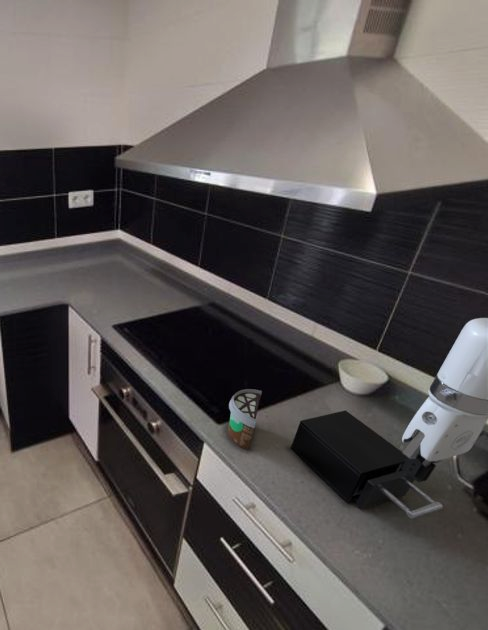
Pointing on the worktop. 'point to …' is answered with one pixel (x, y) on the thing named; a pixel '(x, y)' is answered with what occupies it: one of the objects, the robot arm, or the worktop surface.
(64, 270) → the worktop surface
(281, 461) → the worktop surface
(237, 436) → the food container
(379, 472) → the drawer
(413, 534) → the worktop surface
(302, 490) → the worktop surface
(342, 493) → the mini drawer cabinet
